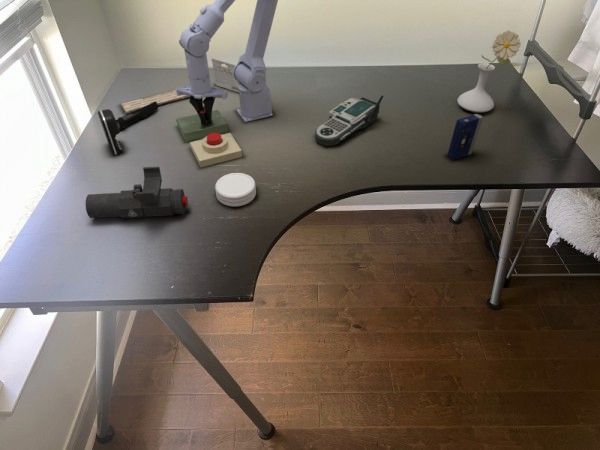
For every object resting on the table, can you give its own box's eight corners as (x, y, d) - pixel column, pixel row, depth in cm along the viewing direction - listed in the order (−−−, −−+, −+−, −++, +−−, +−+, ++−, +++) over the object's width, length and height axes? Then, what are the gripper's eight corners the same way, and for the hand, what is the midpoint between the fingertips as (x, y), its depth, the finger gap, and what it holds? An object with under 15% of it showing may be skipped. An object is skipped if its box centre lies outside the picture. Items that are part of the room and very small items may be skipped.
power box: (230, 139, 131) (229, 127, 129) (242, 157, 125) (241, 144, 122) (190, 148, 128) (188, 136, 125) (200, 167, 121) (198, 155, 118)
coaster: (240, 212, 108) (238, 201, 105) (208, 198, 112) (206, 187, 109) (263, 190, 114) (263, 179, 112) (233, 178, 118) (231, 167, 115)
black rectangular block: (206, 115, 135) (204, 104, 133) (211, 115, 135) (209, 104, 133) (201, 123, 132) (199, 112, 129) (206, 124, 132) (204, 113, 129)
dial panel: (218, 118, 140) (217, 109, 138) (228, 132, 134) (227, 123, 132) (178, 127, 136) (176, 118, 134) (185, 142, 130) (183, 133, 128)
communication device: (302, 137, 132) (302, 111, 126) (352, 107, 145) (354, 82, 139) (333, 153, 127) (335, 126, 120) (382, 120, 139) (385, 94, 133)
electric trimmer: (161, 111, 143) (159, 102, 141) (121, 131, 134) (118, 122, 132) (154, 108, 145) (152, 99, 143) (113, 127, 136) (110, 118, 134)
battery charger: (127, 152, 126) (115, 117, 118) (113, 156, 125) (100, 120, 117) (121, 140, 130) (110, 105, 123) (108, 144, 129) (96, 108, 121)
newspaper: (127, 114, 141) (125, 109, 140) (120, 105, 146) (119, 100, 144) (196, 96, 150) (196, 91, 149) (189, 88, 155) (188, 83, 153)
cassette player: (452, 160, 124) (463, 122, 116) (446, 156, 125) (456, 118, 117) (472, 153, 126) (484, 116, 118) (466, 149, 128) (477, 112, 120)
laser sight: (99, 202, 110) (86, 170, 104) (191, 197, 112) (184, 165, 105) (89, 229, 103) (74, 196, 97) (187, 224, 105) (179, 191, 98)
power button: (219, 136, 126) (218, 131, 125) (223, 144, 123) (223, 138, 122) (205, 140, 124) (204, 134, 123) (209, 147, 122) (209, 142, 121)
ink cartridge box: (219, 82, 158) (215, 55, 151) (244, 90, 153) (241, 63, 147) (214, 85, 156) (211, 58, 149) (239, 93, 152) (237, 65, 145)
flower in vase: (453, 112, 143) (475, 32, 126) (458, 96, 151) (479, 19, 134) (496, 120, 140) (524, 39, 123) (498, 103, 148) (525, 25, 130)
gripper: (168, 79, 122) (178, 123, 131) (220, 83, 120) (225, 127, 129) (177, 68, 127) (186, 111, 136) (227, 72, 125) (232, 115, 135)
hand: (206, 118), depth 133 cm, fingers closed on black rectangular block, 2 cm apart
